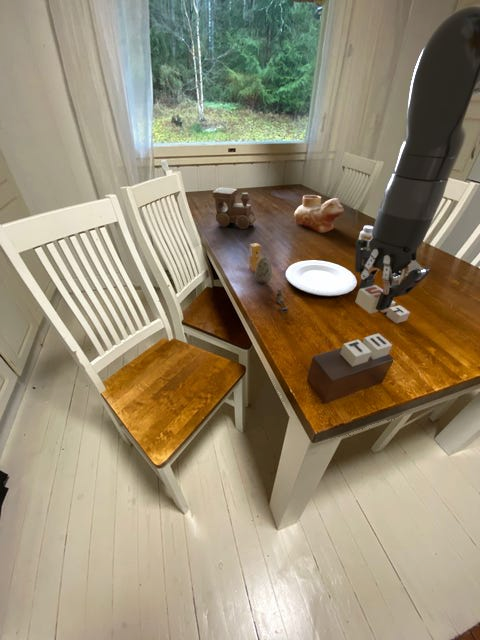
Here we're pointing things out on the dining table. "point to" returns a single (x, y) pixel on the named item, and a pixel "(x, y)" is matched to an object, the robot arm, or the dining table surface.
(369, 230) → the supplement bottle
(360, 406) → the dining table surface
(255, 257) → the supplement box
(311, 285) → the plate
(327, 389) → the tile rack
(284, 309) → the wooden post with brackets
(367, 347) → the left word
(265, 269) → the decorative egg
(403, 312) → the letter cube pair
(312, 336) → the dining table surface
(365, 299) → the tile
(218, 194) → the wooden toy train
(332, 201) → the ceramic vessel
